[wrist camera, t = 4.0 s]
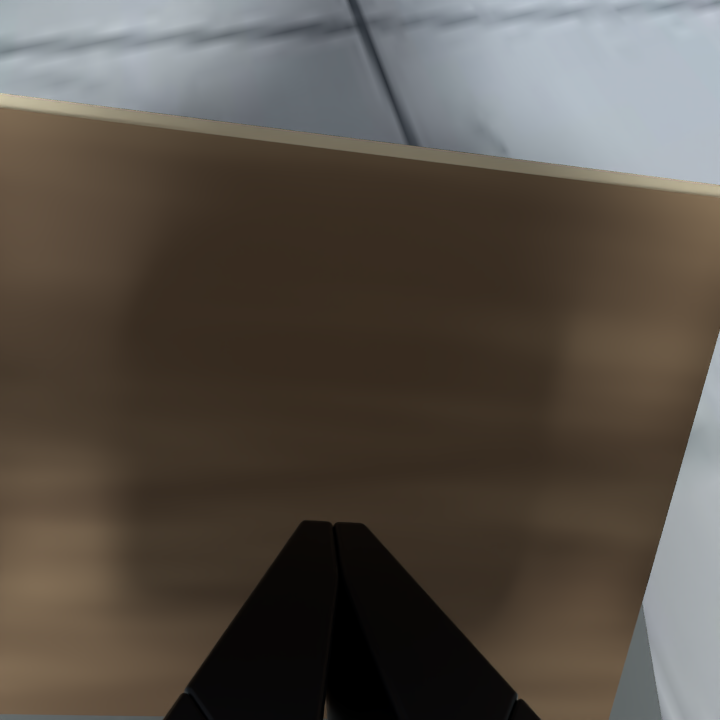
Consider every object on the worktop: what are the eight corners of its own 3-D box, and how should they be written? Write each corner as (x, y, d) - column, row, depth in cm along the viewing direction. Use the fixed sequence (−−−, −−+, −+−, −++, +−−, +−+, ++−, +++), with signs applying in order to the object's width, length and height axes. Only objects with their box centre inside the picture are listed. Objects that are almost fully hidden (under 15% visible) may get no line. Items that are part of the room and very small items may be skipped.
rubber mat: (691, 957, 13) (703, 966, 13) (-221, 989, 11) (-238, 1001, 11) (567, 201, 22) (572, 194, 22) (59, 140, 20) (55, 131, 20)
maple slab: (615, 731, 11) (772, 189, 9) (-59, 722, 10) (-122, 74, 7) (531, 583, 16) (620, 186, 13) (48, 563, 14) (33, 113, 12)
